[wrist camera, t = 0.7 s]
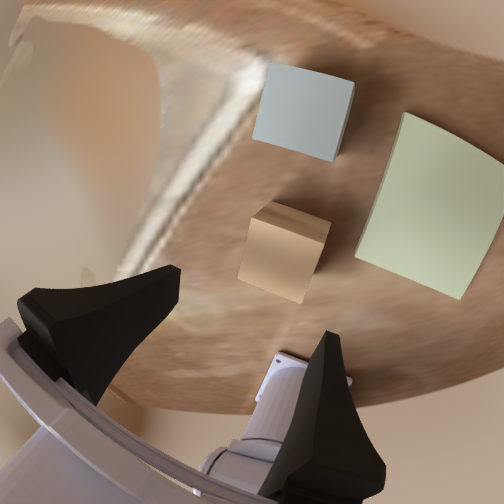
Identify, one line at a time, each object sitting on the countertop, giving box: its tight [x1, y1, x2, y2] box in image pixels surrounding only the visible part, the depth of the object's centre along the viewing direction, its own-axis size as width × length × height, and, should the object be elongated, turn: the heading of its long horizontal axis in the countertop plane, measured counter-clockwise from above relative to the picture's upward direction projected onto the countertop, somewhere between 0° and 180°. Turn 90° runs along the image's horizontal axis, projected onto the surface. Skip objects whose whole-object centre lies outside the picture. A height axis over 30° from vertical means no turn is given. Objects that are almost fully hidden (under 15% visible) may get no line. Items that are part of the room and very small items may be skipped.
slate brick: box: [252, 62, 355, 162], centre depth 15 cm, size 4×4×4 cm
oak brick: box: [238, 201, 332, 304], centre depth 19 cm, size 4×4×4 cm
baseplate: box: [355, 112, 504, 300], centre depth 15 cm, size 10×9×1 cm
